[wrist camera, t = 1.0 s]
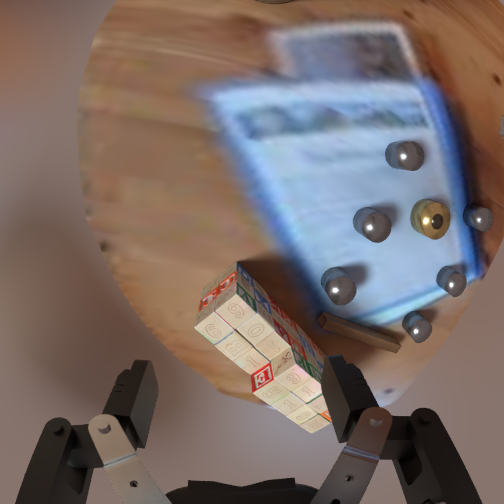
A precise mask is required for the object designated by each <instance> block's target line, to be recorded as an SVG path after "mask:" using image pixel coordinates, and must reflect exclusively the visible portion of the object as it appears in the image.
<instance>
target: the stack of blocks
mask: <svg viewBox="0 0 504 504" xmlns="http://www.w3.org/2000/svg"><path fill="white" fill-rule="evenodd" d="M195 329H196V330H197V331H198V332H200V333H201V334H202V335H203V336H204V337H205V338H206V339H208V340H209V341H210V342H211V343H213V344H214V345H215V347H216V348H218V349H219V350H220V351H221V352H222V353H224V354H225V355H226V356H227V357H228V358H230V359H231V360H232V361H234V363H235V364H237V365H238V366H239V367H240V368H242V369H243V370H244V371H246V372H247V373H249V374H251V383H252V392H253V394H255V395H256V396H257V397H259V398H260V399H262V400H263V401H265V402H266V403H267V404H269V405H271V406H273V407H274V408H275V409H277V410H278V411H280V412H281V413H283V414H284V415H285V416H287V417H288V418H289V419H291V420H292V421H294V422H295V423H297V424H299V425H300V426H301V427H302V428H304V429H305V430H307V431H308V432H310V433H314V432H315V431H317V430H319V429H321V428H323V427H324V426H326V425H328V424H330V422H332V420H331V417H330V414H329V411H328V408H327V405H326V403H325V400H324V397H323V394H322V390H321V377H322V371H323V365H324V359H325V357H326V355H325V354H324V353H323V352H322V351H321V350H320V349H319V348H318V347H317V345H316V344H315V343H314V342H313V341H312V340H311V338H310V337H309V336H308V335H307V334H306V333H305V332H304V331H303V330H302V329H301V328H300V327H299V326H298V325H297V324H296V323H295V322H293V321H292V319H291V318H290V317H288V315H287V314H286V313H285V312H284V311H283V310H282V309H280V308H279V306H278V305H277V304H276V303H275V302H274V301H273V300H272V299H271V298H270V297H269V296H268V295H267V293H266V292H265V290H264V289H263V288H262V287H261V286H260V285H259V284H258V283H257V282H256V281H255V280H254V279H253V278H252V277H251V276H250V275H249V274H248V273H247V272H246V270H245V269H244V268H243V267H242V266H241V265H240V264H239V263H238V262H236V263H234V264H233V265H232V266H231V267H230V268H228V269H227V270H226V271H225V272H224V273H222V274H221V275H220V276H219V277H217V278H216V279H215V280H213V281H212V282H211V283H210V284H209V285H208V286H206V287H205V288H204V289H203V291H202V296H201V301H200V305H199V311H198V314H197V317H196V321H195Z"/></svg>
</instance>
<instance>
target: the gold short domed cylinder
mask: <svg viewBox="0 0 504 504" xmlns="http://www.w3.org/2000/svg"><path fill="white" fill-rule="evenodd" d="M410 219H411V224H412V227H413V228H414V230H415V231H417V232H419V233H421V234H423V235H425V236H427V237H429V238H431V239H439V238H441V237H443V236H444V235H445V233H446V232H447V230H448V228H449V225H450V213H449V211H448V209H447V207H446V206H445V205H443V204H441V203H438V202H434V201H431V200H428V199H422V200H419V201H418V202H417V203H416V204H415V205H414V207H413V209H412V211H411V217H410Z"/></svg>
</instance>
